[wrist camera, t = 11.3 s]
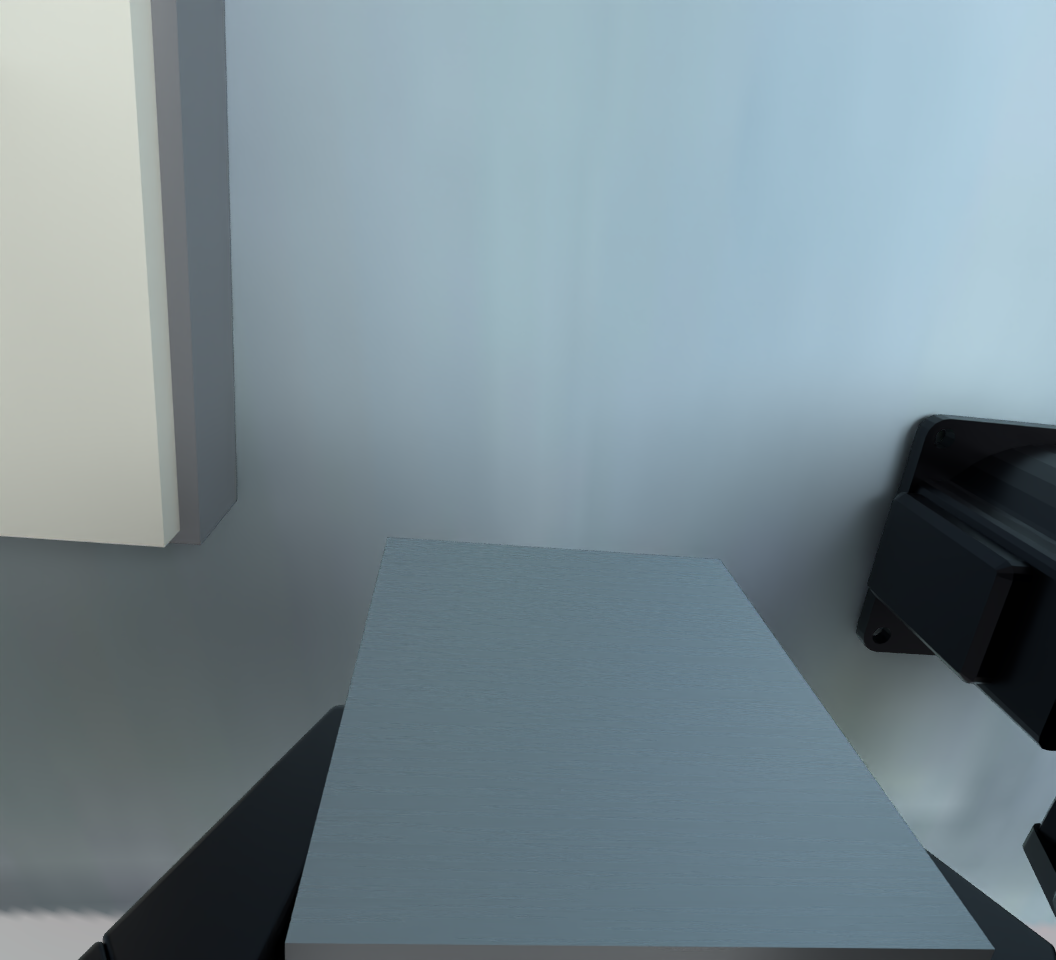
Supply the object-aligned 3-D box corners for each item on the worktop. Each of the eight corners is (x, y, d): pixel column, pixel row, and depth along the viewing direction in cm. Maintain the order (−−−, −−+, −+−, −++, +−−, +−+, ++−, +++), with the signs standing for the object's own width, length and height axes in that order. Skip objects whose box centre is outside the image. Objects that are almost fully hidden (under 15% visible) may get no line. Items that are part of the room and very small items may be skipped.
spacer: (720, 558, 9) (995, 949, 4) (663, 814, 10) (825, 1324, 6) (387, 536, 8) (283, 943, 4) (375, 806, 10) (288, 1350, 5)
